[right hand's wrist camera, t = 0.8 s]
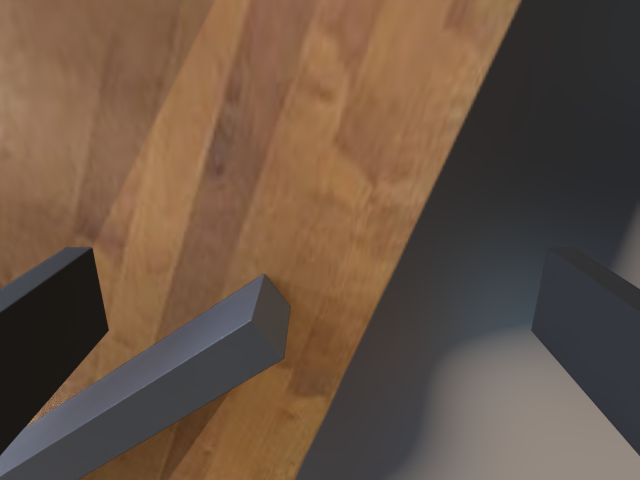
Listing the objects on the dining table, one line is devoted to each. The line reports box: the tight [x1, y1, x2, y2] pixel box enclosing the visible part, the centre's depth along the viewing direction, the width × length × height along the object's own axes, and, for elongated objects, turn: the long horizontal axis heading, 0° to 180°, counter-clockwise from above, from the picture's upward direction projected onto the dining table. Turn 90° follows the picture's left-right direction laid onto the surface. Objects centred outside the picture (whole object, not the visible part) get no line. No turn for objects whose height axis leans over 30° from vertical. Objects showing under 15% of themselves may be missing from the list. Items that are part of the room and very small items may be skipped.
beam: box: [0, 274, 291, 480], centre depth 44 cm, size 52×4×9 cm, turn 124°
